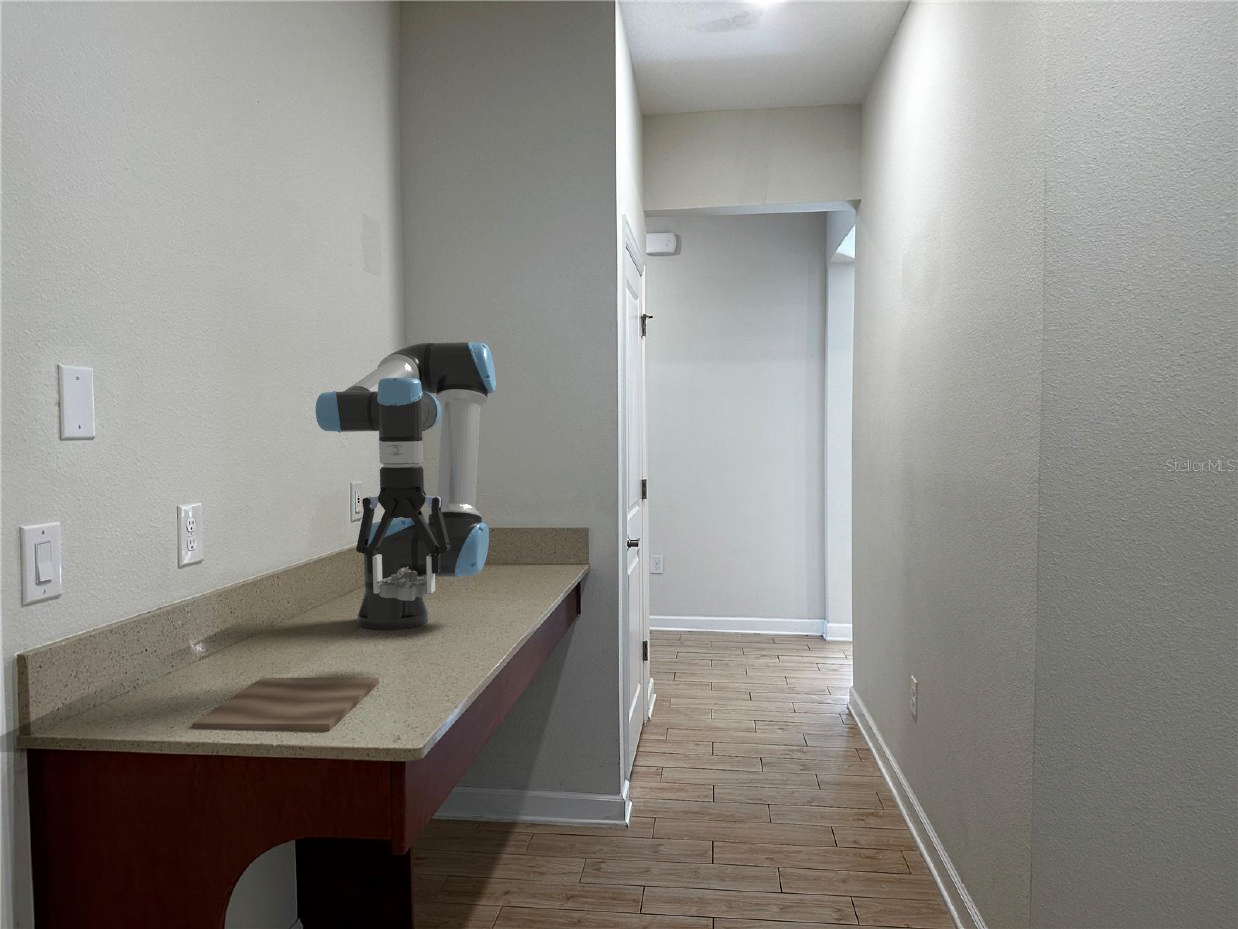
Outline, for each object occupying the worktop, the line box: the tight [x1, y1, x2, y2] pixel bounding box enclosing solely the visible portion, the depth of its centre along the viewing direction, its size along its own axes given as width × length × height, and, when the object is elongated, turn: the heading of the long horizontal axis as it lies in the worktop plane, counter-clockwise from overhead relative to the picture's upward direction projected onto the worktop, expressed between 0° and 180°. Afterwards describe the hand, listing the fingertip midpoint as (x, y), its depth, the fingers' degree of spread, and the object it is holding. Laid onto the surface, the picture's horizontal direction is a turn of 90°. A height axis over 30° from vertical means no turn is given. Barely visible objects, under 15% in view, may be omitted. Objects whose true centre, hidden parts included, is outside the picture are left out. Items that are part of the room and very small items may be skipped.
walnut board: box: [191, 677, 380, 732], centre depth 133 cm, size 22×20×1 cm
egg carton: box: [377, 567, 439, 601], centre depth 152 cm, size 11×8×4 cm
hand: (404, 591), depth 152 cm, fingers closed on egg carton, 9 cm apart
